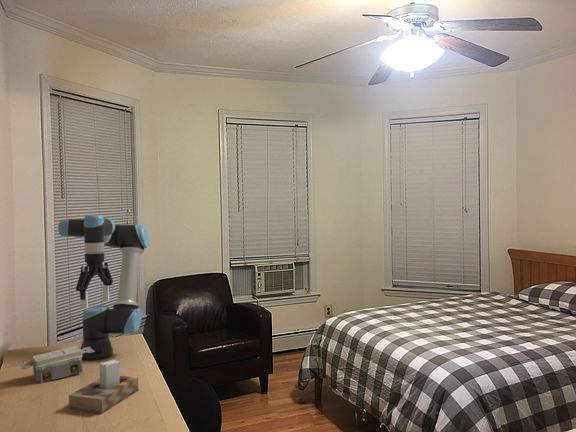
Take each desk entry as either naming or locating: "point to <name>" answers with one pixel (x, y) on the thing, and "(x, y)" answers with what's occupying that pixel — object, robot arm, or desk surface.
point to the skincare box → (109, 375)
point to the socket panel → (102, 395)
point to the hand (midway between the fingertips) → (95, 304)
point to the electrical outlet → (57, 363)
